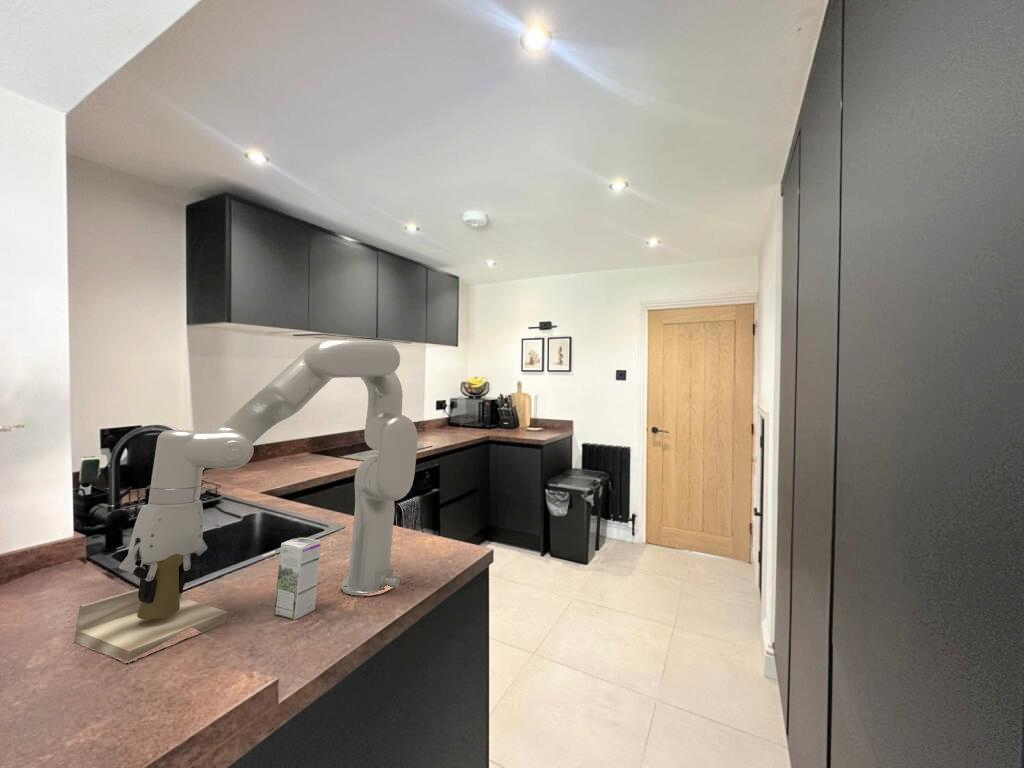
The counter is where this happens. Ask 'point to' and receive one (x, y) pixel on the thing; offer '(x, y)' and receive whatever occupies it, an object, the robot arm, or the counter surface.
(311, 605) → the syrup box
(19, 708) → the counter surface
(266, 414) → the robot arm
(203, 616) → the shelf
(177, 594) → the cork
